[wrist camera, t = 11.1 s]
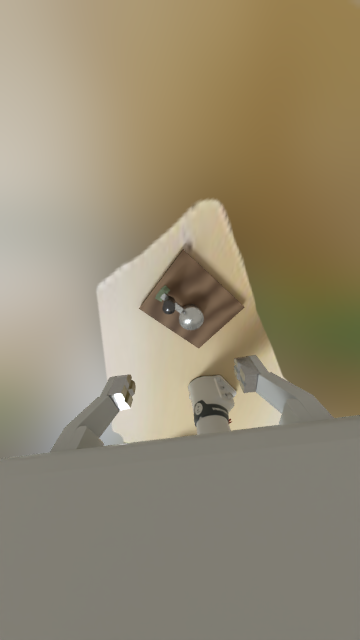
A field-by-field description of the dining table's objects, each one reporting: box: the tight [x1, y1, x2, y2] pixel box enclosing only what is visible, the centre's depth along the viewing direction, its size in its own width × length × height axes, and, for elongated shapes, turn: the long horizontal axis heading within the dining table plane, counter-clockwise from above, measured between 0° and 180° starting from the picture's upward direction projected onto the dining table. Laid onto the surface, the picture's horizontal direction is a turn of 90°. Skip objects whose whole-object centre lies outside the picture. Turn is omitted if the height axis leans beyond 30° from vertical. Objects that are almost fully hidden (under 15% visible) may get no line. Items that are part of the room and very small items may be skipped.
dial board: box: [139, 250, 244, 348], centre depth 41 cm, size 24×20×2 cm
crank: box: [160, 292, 204, 330], centre depth 37 cm, size 14×7×7 cm, turn 49°
